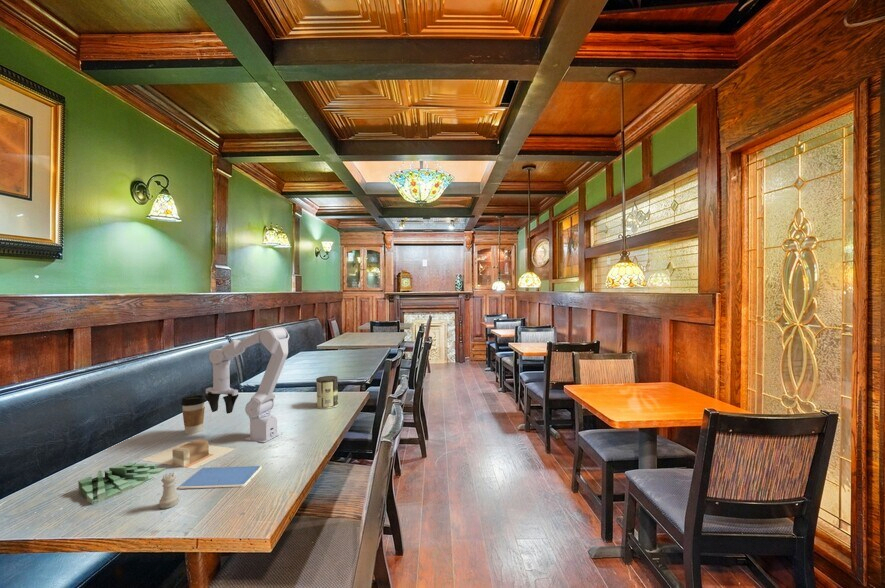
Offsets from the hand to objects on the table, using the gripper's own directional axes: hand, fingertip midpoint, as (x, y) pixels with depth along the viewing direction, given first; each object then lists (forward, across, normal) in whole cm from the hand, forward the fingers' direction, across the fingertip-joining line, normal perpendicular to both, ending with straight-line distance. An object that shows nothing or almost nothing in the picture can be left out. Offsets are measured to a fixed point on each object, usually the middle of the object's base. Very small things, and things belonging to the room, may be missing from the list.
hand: (222, 412), depth 151 cm
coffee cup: (+10, -14, -1) cm, 17 cm away
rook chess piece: (+10, +29, -43) cm, 53 cm away
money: (+10, +4, -40) cm, 42 cm away
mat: (+9, +5, -18) cm, 21 cm away
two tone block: (+9, +10, -21) cm, 25 cm away
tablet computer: (+10, +30, -27) cm, 42 cm away
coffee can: (+10, +18, +45) cm, 49 cm away
